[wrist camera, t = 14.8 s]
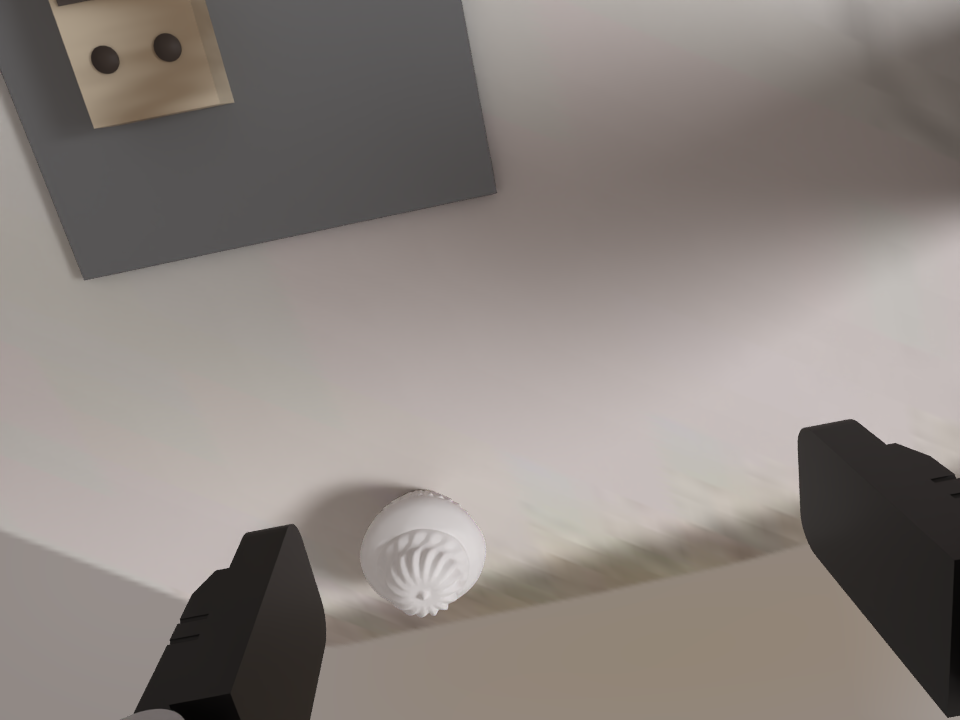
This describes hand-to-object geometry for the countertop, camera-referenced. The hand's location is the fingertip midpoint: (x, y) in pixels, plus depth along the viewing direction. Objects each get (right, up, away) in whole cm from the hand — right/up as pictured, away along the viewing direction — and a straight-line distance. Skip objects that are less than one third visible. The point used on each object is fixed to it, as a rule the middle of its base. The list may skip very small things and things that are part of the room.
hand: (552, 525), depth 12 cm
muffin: (-4, -6, +28) cm, 29 cm away
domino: (-14, +13, +19) cm, 26 cm away
